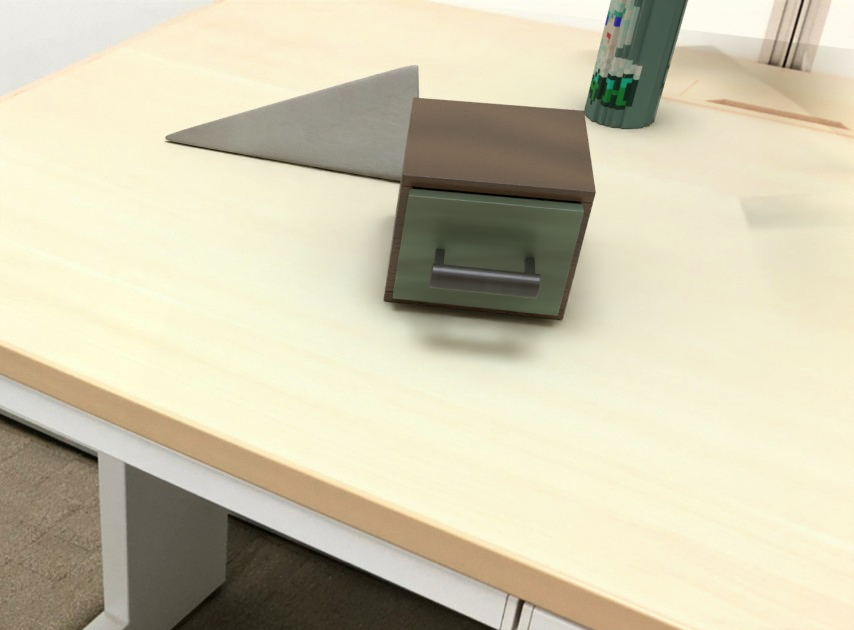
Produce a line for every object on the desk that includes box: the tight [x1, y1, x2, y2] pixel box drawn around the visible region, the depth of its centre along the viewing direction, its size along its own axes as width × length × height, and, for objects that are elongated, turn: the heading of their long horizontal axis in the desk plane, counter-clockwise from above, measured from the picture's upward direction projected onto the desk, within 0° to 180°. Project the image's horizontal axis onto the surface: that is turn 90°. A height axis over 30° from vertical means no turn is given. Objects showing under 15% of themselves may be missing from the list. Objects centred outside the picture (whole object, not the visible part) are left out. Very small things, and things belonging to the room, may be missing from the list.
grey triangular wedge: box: [164, 64, 420, 182], centre depth 109 cm, size 10×8×22 cm
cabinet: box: [383, 97, 597, 320], centre depth 92 cm, size 15×13×10 cm
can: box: [583, 0, 689, 130], centre depth 112 cm, size 6×6×15 cm
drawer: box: [393, 187, 584, 316], centre depth 89 cm, size 18×11×8 cm, turn 167°
